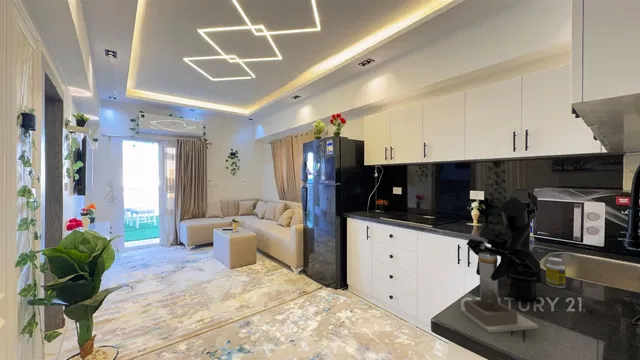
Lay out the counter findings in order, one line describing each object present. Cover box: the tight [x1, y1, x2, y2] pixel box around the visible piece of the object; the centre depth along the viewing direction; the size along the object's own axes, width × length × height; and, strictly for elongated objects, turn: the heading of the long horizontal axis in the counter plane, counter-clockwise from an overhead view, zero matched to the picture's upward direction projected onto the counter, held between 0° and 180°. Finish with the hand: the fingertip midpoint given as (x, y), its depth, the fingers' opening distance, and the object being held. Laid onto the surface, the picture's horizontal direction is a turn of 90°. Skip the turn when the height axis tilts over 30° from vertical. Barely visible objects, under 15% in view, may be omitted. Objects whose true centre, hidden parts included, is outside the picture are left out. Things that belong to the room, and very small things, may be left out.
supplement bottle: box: [545, 257, 567, 289], centre depth 98 cm, size 5×5×10 cm
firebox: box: [459, 299, 539, 334], centre depth 76 cm, size 14×12×4 cm
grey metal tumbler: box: [477, 252, 500, 303], centre depth 76 cm, size 5×5×13 cm
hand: (484, 276), depth 75 cm, fingers closed on grey metal tumbler, 4 cm apart
